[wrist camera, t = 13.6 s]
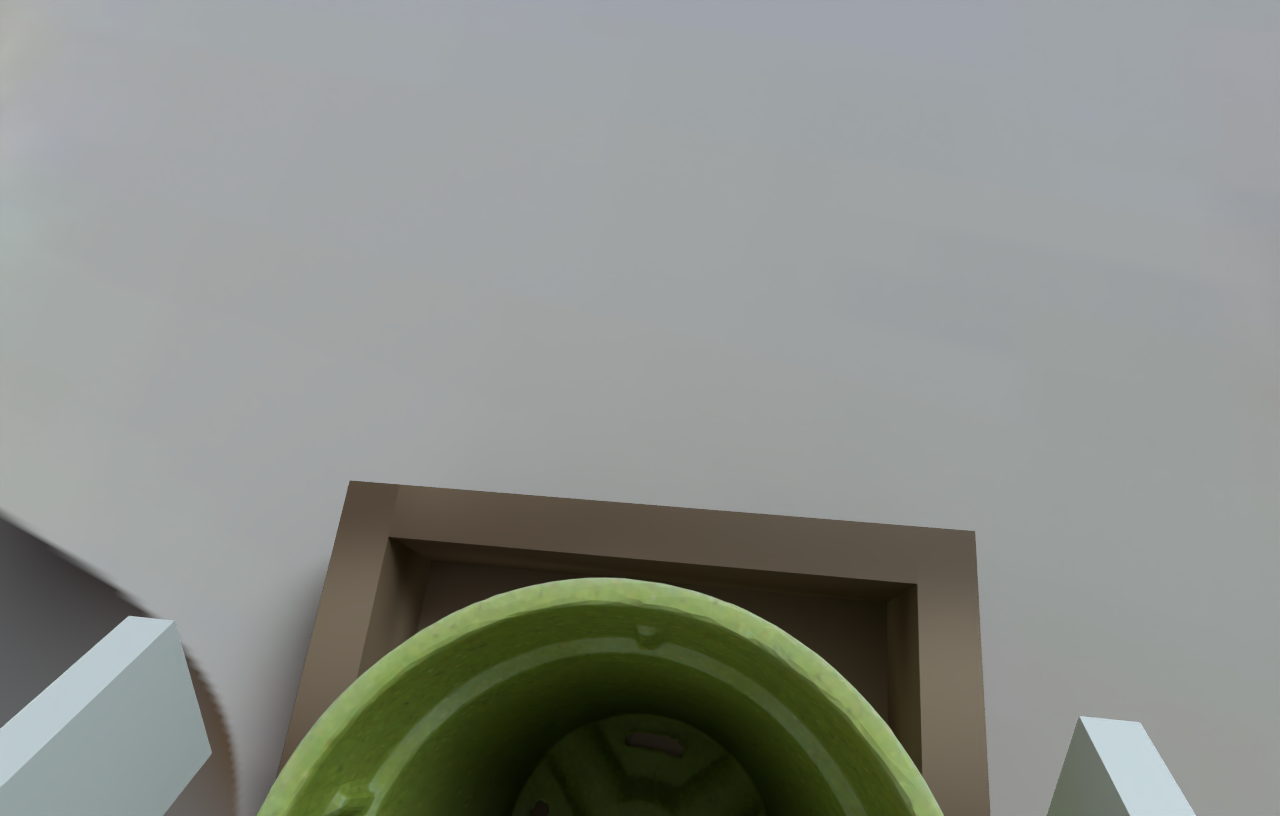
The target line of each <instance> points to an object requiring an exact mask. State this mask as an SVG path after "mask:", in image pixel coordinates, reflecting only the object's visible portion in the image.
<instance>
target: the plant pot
mask: <svg viewBox="0 0 1280 816" xmlns="http://www.w3.org/2000/svg"><path fill="white" fill-rule="evenodd" d="M634 732H637V733H651V734H655V735H657V734H658V735H666V736H668V737H670V738H672V739H677V740H678V742H679V744H680V745H681V746H682V747H683V756H680V757H677V756H675V755H672V754H669V753H665V752H662V751H659V750H655V749H650V748H644V747H632V746H627V744H626V742H625V741H626V739H627V738H629V737H630V736H631V734H632V733H634ZM539 802H544V803H547V804H548V807H549V813H548V815H547V816H944V815H943V813H942V811H941V809H940V807H939V805H938V803H937V802H936V800H935V798H934V796H933V794H932V792H931V791H930V789H929V787H928V785H927V783H926V781H925V780H924V778H923V777H922V775H921V774H920V772H919V771H918V769H917V767H916V766H915V764H914V763H913V761H912V760H911V758H910V757H909V755H908V754H907V752H906V751H905V749H904V748H903V746H902V745H901V744H900V742H899V741H898V739H897V738H896V737H895V735H894V733H893V732H892V730H891V729H890V727H889V726H888V725H887V724H886V722H885V721H884V720H883V719H882V718H881V717H880V715H879V714H878V713H877V712H876V711H875V710H874V708H873V707H872V706H871V705H870V704H869V703H868V702H867V701H866V699H865V698H864V697H863V696H862V695H861V694H860V693H859V692H858V691H857V690H856V689H855V688H854V687H853V686H852V685H851V684H850V683H849V682H848V681H847V680H846V679H845V678H844V677H843V676H842V675H841V674H840V673H839V672H838V671H837V670H836V669H835V668H833V667H832V666H831V665H830V664H829V663H827V662H826V661H825V660H824V659H823V658H822V657H820V656H819V655H818V654H817V653H815V652H814V651H812V650H811V649H809V648H808V647H807V646H805V645H804V644H802V643H801V642H799V641H798V640H797V639H795V638H794V637H792V636H791V635H789V634H788V633H786V632H785V631H783V630H782V629H780V628H779V627H777V626H775V625H774V624H772V623H770V622H768V621H766V620H764V619H762V618H761V617H759V616H757V615H755V614H753V613H751V612H749V611H747V610H745V609H743V608H740V607H738V606H736V605H734V604H731V603H728V602H724V601H722V600H719V599H717V598H714V597H712V596H709V595H705V594H702V593H699V592H696V591H692V590H688V589H684V588H680V587H676V586H672V585H667V584H663V583H656V582H648V581H640V580H633V579H626V578H580V579H569V580H561V581H553V582H548V583H542V584H537V585H532V586H528V587H524V588H520V589H516V590H512V591H509V592H506V593H502V594H498V595H495V596H492V597H490V598H488V599H486V600H483V601H480V602H477V603H474V604H471V605H469V606H467V607H465V608H463V609H461V610H458V611H456V612H454V613H452V614H450V615H448V616H446V617H444V618H442V619H441V620H439V621H438V622H436V623H434V624H432V625H430V626H428V627H426V628H425V629H423V630H421V631H419V632H418V633H416V634H415V635H414V636H412V637H411V638H409V639H408V640H406V641H405V642H404V643H402V644H401V645H399V646H398V647H396V648H395V649H394V650H392V651H391V652H389V653H388V654H386V655H385V656H384V657H383V658H381V659H380V660H379V661H378V662H377V663H375V664H374V665H373V666H372V667H370V668H369V669H368V670H367V671H365V672H364V673H363V674H362V675H361V676H359V677H358V678H357V679H356V680H355V681H354V682H353V683H352V684H351V685H350V686H349V687H348V688H347V689H346V690H345V691H344V692H343V693H342V694H341V695H340V696H339V697H338V698H337V699H336V700H335V701H334V702H333V703H332V704H331V705H330V706H329V707H328V708H327V710H326V711H325V712H324V713H323V714H322V715H321V716H320V718H319V719H318V720H317V721H316V723H315V724H314V725H313V727H312V728H311V729H310V730H309V732H308V733H307V734H306V736H305V737H304V738H303V740H302V741H301V742H300V744H299V745H298V747H297V748H296V749H295V751H294V752H293V754H292V755H291V757H290V758H289V760H288V761H287V763H286V764H285V766H284V767H283V769H282V770H281V772H280V774H279V775H278V777H277V779H276V781H275V782H274V784H273V786H272V787H271V789H270V791H269V793H268V795H267V797H266V799H265V801H264V802H263V804H262V806H261V808H260V810H259V812H258V814H257V816H530V815H531V812H532V810H533V809H534V808H535V807H536V805H537V804H538V803H539Z"/></svg>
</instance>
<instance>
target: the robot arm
mask: <svg viewBox="0 0 1280 816" xmlns="http://www.w3.org/2000/svg"><path fill="white" fill-rule="evenodd" d="M211 754H212V752H211V748H210V745H209V741H208V738H207V734H206V730H205V727H204V723H203V720H202V716H201V713H200V709H199V705H198V702H197V698H196V695H195V691H194V688H193V684H192V681H191V677H190V674H189V670H188V666H187V663H186V659H185V656H184V652H183V649H182V645H181V641H180V638H179V634H178V631H177V627H176V624H175V621H172V620H162V619H153V618H143V617H134V616H128V617H127V618H126V619H125V620H124V621H123V622H121V623H120V624H119V625H118V626H117V627H116V628H115V629H113V630H112V631H111V632H110V633H109V634H108V635H107V636H106V637H104V638H103V639H102V640H101V641H100V642H99V643H97V644H96V645H95V646H94V647H93V648H92V649H91V650H89V651H88V652H87V653H86V654H85V655H84V656H83V657H81V658H80V659H79V660H78V661H77V662H76V663H75V664H73V665H72V666H71V667H70V668H69V669H68V670H67V671H66V672H64V673H63V674H62V675H61V676H60V677H59V678H58V679H56V680H55V681H54V682H53V683H52V684H51V685H50V686H49V687H47V688H46V689H45V690H44V691H43V692H42V693H40V694H39V695H38V696H37V697H36V698H35V699H34V700H33V701H31V702H30V703H29V704H28V705H27V706H26V707H25V708H24V709H22V710H21V711H20V712H19V713H18V714H17V715H16V716H14V717H13V718H12V719H11V720H10V721H9V722H7V723H6V724H5V725H4V726H3V727H2V728H1V729H0V816H163V815H164V813H165V812H166V811H167V810H168V808H169V807H170V806H171V805H172V803H173V802H174V801H175V800H176V798H177V797H178V796H179V794H180V793H181V792H182V791H183V789H184V788H185V787H186V786H187V784H188V783H189V782H190V780H191V779H192V778H193V777H194V775H195V774H196V773H197V772H198V770H199V769H200V768H201V767H202V765H203V764H204V763H205V761H206V760H207V759H208V758H209V756H210V755H211ZM1047 816H1196V815H1195V813H1194V812H1193V810H1192V808H1191V807H1190V805H1189V803H1188V802H1187V800H1186V798H1185V797H1184V795H1183V793H1182V792H1181V790H1180V788H1179V787H1178V785H1177V783H1176V782H1175V780H1174V778H1173V777H1172V775H1171V773H1170V772H1169V770H1168V768H1167V767H1166V765H1165V763H1164V762H1163V760H1162V758H1161V757H1160V755H1159V753H1158V752H1157V750H1156V748H1155V747H1154V745H1153V743H1152V742H1151V740H1150V738H1149V737H1148V735H1147V733H1146V732H1145V730H1144V728H1143V727H1142V725H1141V723H1140V722H1131V721H1122V720H1112V719H1103V718H1093V717H1084V716H1079V718H1078V721H1077V724H1076V727H1075V730H1074V734H1073V737H1072V740H1071V743H1070V746H1069V749H1068V752H1067V755H1066V758H1065V761H1064V764H1063V768H1062V771H1061V774H1060V777H1059V780H1058V783H1057V786H1056V789H1055V792H1054V795H1053V798H1052V801H1051V805H1050V808H1049V811H1048V814H1047Z"/></svg>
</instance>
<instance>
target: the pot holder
mask: <svg viewBox="0 0 1280 816" xmlns="http://www.w3.org/2000/svg"><path fill="white" fill-rule="evenodd" d="M580 578H626V579H633V580H640V581H648V582H656V583H663V584H667V585H672V586H676V587H680V588H684V589H688V590H692V591H696V592H699V593H702V594H705V595H709V596H712V597H714V598H717V599H719V600H722V601H724V602H728V603H731V604H734V605H736V606H738V607H740V608H743V609H745V610H747V611H749V612H751V613H753V614H755V615H757V616H759V617H761V618H762V619H764V620H766V621H768V622H770V623H772V624H774V625H775V626H777V627H779V628H780V629H782V630H783V631H785V632H786V633H788V634H789V635H791V636H792V637H794V638H795V639H797V640H798V641H799V642H801V643H802V644H804V645H805V646H807V647H808V648H809V649H811V650H812V651H814V652H815V653H817V654H818V655H819V656H820V657H822V658H823V659H824V660H825V661H826V662H827V663H829V664H830V665H831V666H832V667H833V668H835V669H836V670H837V671H838V672H839V673H840V674H841V675H842V676H843V677H844V678H845V679H846V680H847V681H848V682H849V683H850V684H851V685H852V686H853V687H854V688H855V689H856V690H857V691H858V692H859V693H860V694H861V695H862V696H863V697H864V698H865V699H866V701H867V702H868V703H869V704H870V705H871V706H872V707H873V708H874V710H875V711H876V712H877V713H878V714H879V715H880V717H881V718H882V719H883V720H884V721H885V722H886V724H887V725H888V726H889V727H890V729H891V730H892V732H893V733H894V735H895V737H896V738H897V739H898V741H899V742H900V744H901V745H902V746H903V748H904V749H905V751H906V752H907V754H908V755H909V757H910V758H911V760H912V761H913V763H914V764H915V766H916V767H917V769H918V771H919V772H920V774H921V775H922V777H923V778H924V780H925V781H926V783H927V785H928V787H929V789H930V791H931V792H932V794H933V796H934V798H935V800H936V802H937V803H938V805H939V807H940V809H941V811H942V813H943V815H944V816H990V800H989V782H988V763H987V745H986V726H985V708H984V689H983V670H982V652H981V633H980V615H979V596H978V578H977V559H976V541H975V531H965V530H953V529H940V528H928V527H916V526H903V525H891V524H879V523H866V522H854V521H842V520H829V519H817V518H805V517H792V516H780V515H768V514H755V513H743V512H731V511H718V510H706V509H694V508H681V507H669V506H657V505H644V504H632V503H620V502H607V501H595V500H583V499H570V498H558V497H546V496H533V495H521V494H509V493H496V492H484V491H472V490H459V489H447V488H435V487H422V486H410V485H398V484H385V483H373V482H361V481H350V482H349V486H348V490H347V494H346V498H345V502H344V506H343V510H342V514H341V518H340V522H339V526H338V530H337V535H336V539H335V543H334V547H333V551H332V555H331V559H330V563H329V567H328V571H327V575H326V579H325V583H324V587H323V591H322V595H321V599H320V603H319V607H318V611H317V616H316V620H315V624H314V628H313V632H312V636H311V640H310V644H309V648H308V652H307V656H306V660H305V664H304V668H303V672H302V676H301V680H300V684H299V688H298V692H297V696H296V701H295V705H294V709H293V713H292V717H291V721H290V725H289V729H288V733H287V737H286V741H285V745H284V749H283V753H282V757H281V761H280V765H279V769H278V773H277V777H278V775H279V774H280V772H281V770H282V769H283V767H284V766H285V764H286V763H287V761H288V760H289V758H290V757H291V755H292V754H293V752H294V751H295V749H296V748H297V747H298V745H299V744H300V742H301V741H302V740H303V738H304V737H305V736H306V734H307V733H308V732H309V730H310V729H311V728H312V727H313V725H314V724H315V723H316V721H317V720H318V719H319V718H320V716H321V715H322V714H323V713H324V712H325V711H326V710H327V708H328V707H329V706H330V705H331V704H332V703H333V702H334V701H335V700H336V699H337V698H338V697H339V696H340V695H341V694H342V693H343V692H344V691H345V690H346V689H347V688H348V687H349V686H350V685H351V684H352V683H353V682H354V681H355V680H356V679H357V678H358V677H359V676H361V675H362V674H363V673H364V672H365V671H367V670H368V669H369V668H370V667H372V666H373V665H374V664H375V663H377V662H378V661H379V660H380V659H381V658H383V657H384V656H385V655H386V654H388V653H389V652H391V651H392V650H394V649H395V648H396V647H398V646H399V645H401V644H402V643H404V642H405V641H406V640H408V639H409V638H411V637H412V636H414V635H415V634H416V633H418V632H419V631H421V630H423V629H425V628H426V627H428V626H430V625H432V624H434V623H436V622H438V621H439V620H441V619H442V618H444V617H446V616H448V615H450V614H452V613H454V612H456V611H458V610H461V609H463V608H465V607H467V606H469V605H471V604H474V603H477V602H480V601H483V600H486V599H488V598H490V597H492V596H495V595H498V594H502V593H506V592H509V591H512V590H516V589H520V588H524V587H528V586H532V585H537V584H542V583H548V582H553V581H561V580H569V579H580ZM625 742H626V744H627V746H632V747H644V748H650V749H655V750H659V751H662V752H665V753H669V754H672V755H675V756H677V757H680V756H683V747H682V746H681V745H680V744H679V742H678V740H677V739H672V738H670V737H668V736H666V735H658V734H657V735H655V734H651V733H637V732H634V733H632V734H631V736H630V737H629V738H627V739H626V741H625ZM277 777H276V779H277ZM548 813H549V807H548V804H547V803H544V802H539V803H538V804H537V805H536V807H535V808H534V809H533V810H532V812H531V815H530V816H547V815H548Z"/></svg>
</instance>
